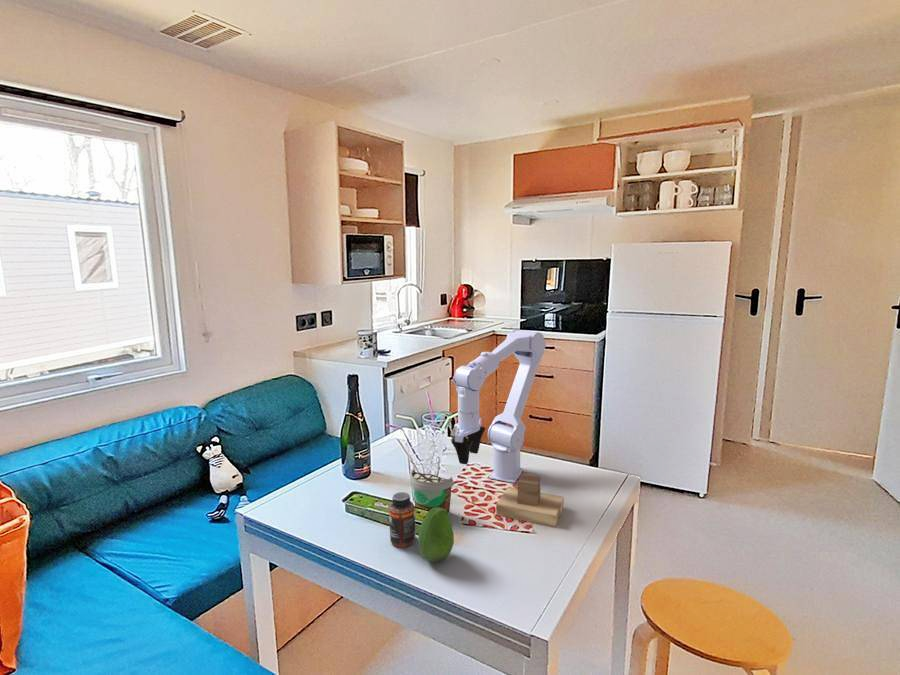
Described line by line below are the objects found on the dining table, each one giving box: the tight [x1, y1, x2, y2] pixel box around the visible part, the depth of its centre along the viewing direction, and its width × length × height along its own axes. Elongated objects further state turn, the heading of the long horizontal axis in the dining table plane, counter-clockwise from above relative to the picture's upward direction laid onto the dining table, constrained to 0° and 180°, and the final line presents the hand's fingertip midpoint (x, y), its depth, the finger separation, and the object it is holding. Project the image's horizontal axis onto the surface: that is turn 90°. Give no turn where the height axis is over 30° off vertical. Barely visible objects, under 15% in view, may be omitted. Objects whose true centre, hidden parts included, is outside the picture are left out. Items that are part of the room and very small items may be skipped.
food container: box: [408, 468, 455, 514], centre depth 126 cm, size 12×6×10 cm, turn 62°
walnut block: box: [517, 472, 542, 506], centre depth 126 cm, size 5×5×6 cm
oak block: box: [495, 486, 565, 528], centre depth 127 cm, size 10×15×3 cm, turn 66°
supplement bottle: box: [388, 491, 417, 548], centre depth 114 cm, size 6×6×11 cm
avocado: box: [417, 508, 455, 563], centre depth 107 cm, size 8×8×12 cm
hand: (468, 458), depth 135 cm, fingers open, 7 cm apart
